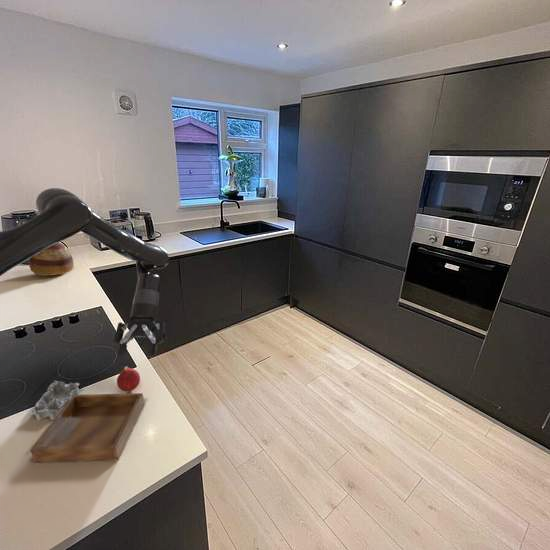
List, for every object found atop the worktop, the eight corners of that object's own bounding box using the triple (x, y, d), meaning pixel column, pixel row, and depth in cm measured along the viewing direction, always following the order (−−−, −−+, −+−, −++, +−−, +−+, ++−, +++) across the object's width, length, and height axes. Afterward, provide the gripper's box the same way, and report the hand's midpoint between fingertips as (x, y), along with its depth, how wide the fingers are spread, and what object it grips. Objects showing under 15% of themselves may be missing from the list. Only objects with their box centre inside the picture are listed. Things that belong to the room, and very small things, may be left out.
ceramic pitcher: (59, 280, 154) (44, 224, 143) (22, 279, 154) (4, 223, 143) (83, 267, 172) (71, 217, 161) (50, 266, 172) (35, 216, 161)
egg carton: (59, 389, 82) (55, 378, 80) (85, 390, 82) (82, 378, 80) (29, 421, 72) (24, 408, 70) (59, 421, 72) (54, 409, 70)
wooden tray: (35, 463, 62) (29, 450, 61) (77, 405, 77) (73, 394, 75) (118, 460, 63) (115, 447, 62) (144, 404, 78) (142, 393, 76)
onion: (146, 388, 83) (141, 366, 80) (126, 401, 78) (121, 377, 76) (134, 380, 86) (130, 358, 83) (115, 391, 82) (110, 369, 79)
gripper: (117, 301, 88) (106, 356, 82) (164, 301, 89) (157, 355, 83) (127, 308, 95) (118, 359, 89) (171, 308, 96) (165, 358, 90)
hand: (137, 357), depth 86 cm, fingers open, 8 cm apart
